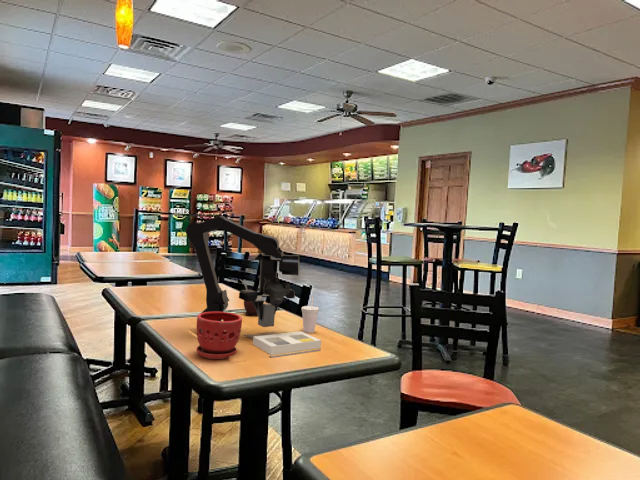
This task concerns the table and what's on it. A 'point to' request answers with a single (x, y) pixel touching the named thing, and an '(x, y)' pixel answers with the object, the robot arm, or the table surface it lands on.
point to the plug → (267, 315)
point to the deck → (259, 334)
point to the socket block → (287, 343)
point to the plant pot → (218, 334)
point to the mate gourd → (249, 306)
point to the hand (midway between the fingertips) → (266, 319)
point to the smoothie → (309, 317)
